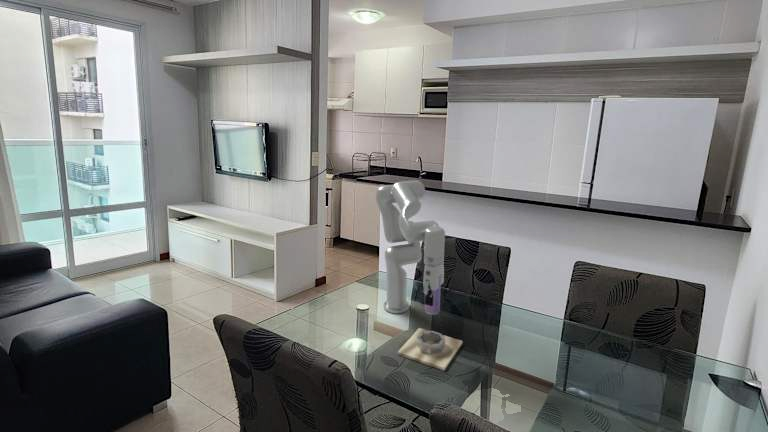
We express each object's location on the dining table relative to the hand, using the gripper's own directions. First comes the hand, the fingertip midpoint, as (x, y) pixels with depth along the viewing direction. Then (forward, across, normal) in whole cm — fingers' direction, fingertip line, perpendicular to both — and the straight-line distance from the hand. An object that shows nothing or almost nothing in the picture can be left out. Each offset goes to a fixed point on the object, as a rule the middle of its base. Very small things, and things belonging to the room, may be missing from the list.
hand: (432, 300), depth 163 cm
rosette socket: (+22, 0, 0) cm, 22 cm away
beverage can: (+5, 0, 0) cm, 5 cm away
